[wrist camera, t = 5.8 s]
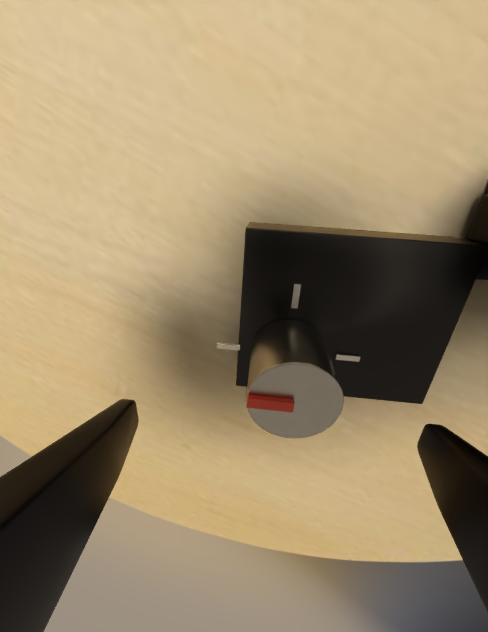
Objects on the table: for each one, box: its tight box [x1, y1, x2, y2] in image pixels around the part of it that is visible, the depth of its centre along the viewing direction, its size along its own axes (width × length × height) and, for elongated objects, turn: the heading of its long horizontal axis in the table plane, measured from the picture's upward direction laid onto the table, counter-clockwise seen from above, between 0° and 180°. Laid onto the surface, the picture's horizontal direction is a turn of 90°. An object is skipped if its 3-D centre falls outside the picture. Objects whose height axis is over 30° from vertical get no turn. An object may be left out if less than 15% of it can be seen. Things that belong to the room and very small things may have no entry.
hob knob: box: [246, 319, 344, 438], centre depth 14 cm, size 4×4×5 cm
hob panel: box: [217, 222, 488, 404], centre depth 17 cm, size 13×11×3 cm
